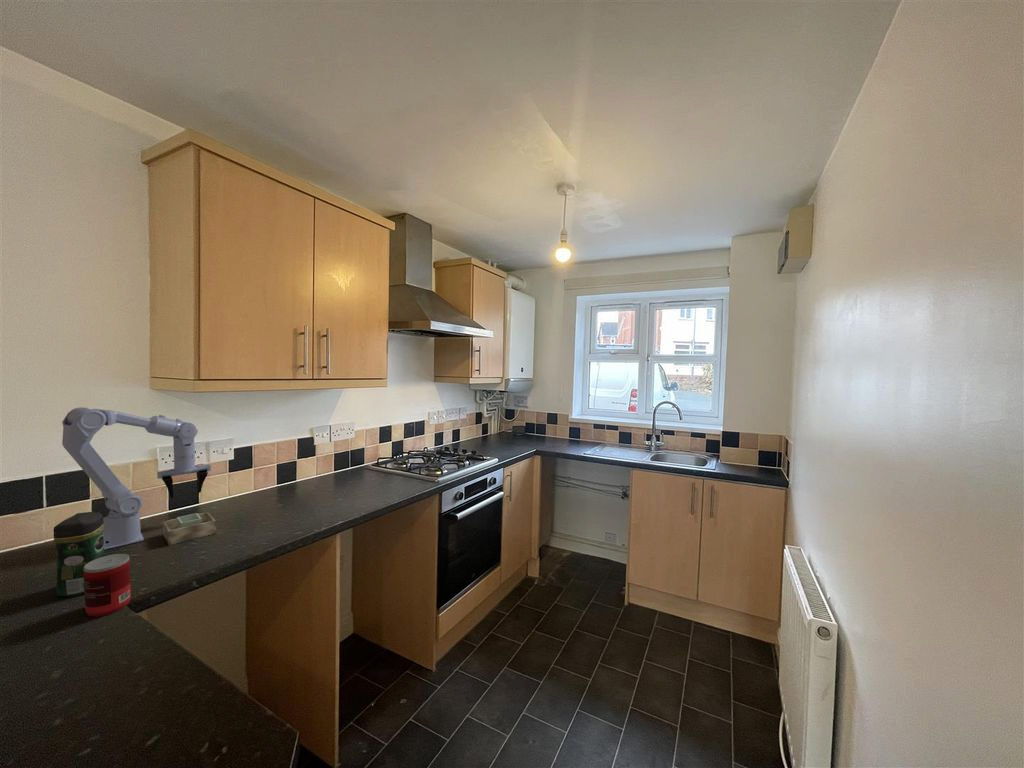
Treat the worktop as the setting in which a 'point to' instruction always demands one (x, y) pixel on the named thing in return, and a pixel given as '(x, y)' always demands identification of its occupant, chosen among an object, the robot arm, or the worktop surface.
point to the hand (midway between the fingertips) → (185, 494)
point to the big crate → (189, 529)
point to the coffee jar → (77, 549)
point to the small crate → (188, 520)
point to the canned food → (107, 584)
